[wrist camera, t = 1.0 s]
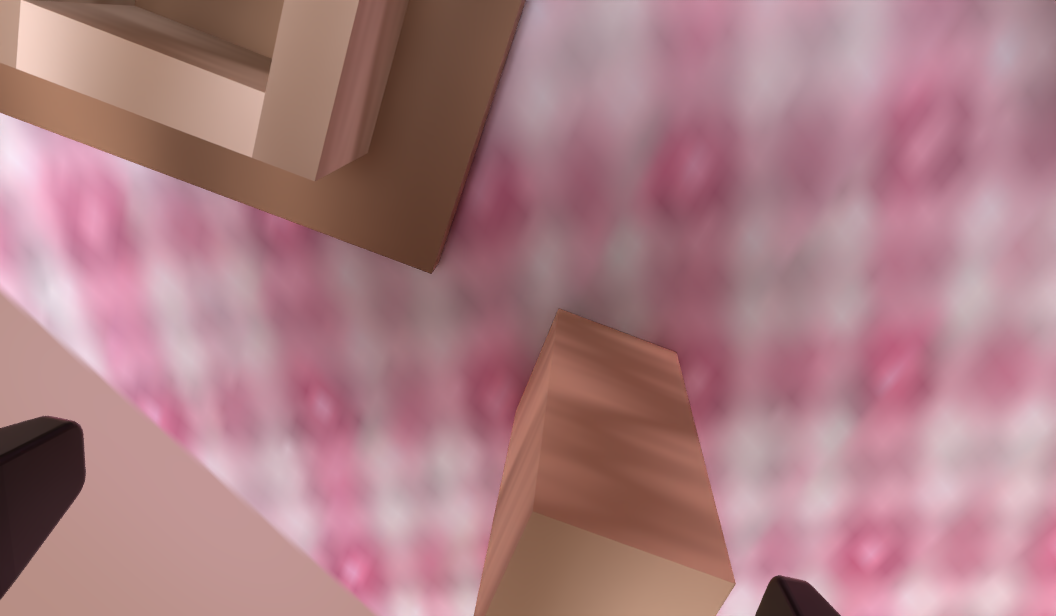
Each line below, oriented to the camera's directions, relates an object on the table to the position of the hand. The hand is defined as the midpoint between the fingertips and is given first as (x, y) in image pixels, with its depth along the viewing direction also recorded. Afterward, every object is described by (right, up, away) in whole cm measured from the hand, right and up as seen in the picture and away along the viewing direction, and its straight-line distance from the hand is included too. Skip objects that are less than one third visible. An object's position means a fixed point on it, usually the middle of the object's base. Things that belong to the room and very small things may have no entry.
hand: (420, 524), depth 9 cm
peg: (+4, 0, +14) cm, 14 cm away
